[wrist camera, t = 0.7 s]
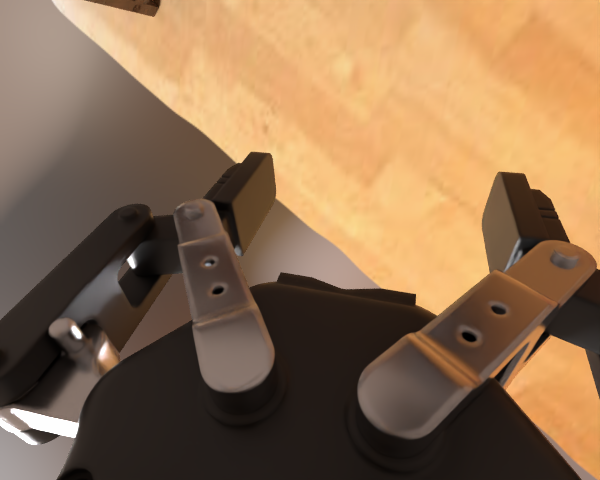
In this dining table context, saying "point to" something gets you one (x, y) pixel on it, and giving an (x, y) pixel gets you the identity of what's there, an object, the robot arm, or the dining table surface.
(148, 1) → the rack
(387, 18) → the dining table surface
